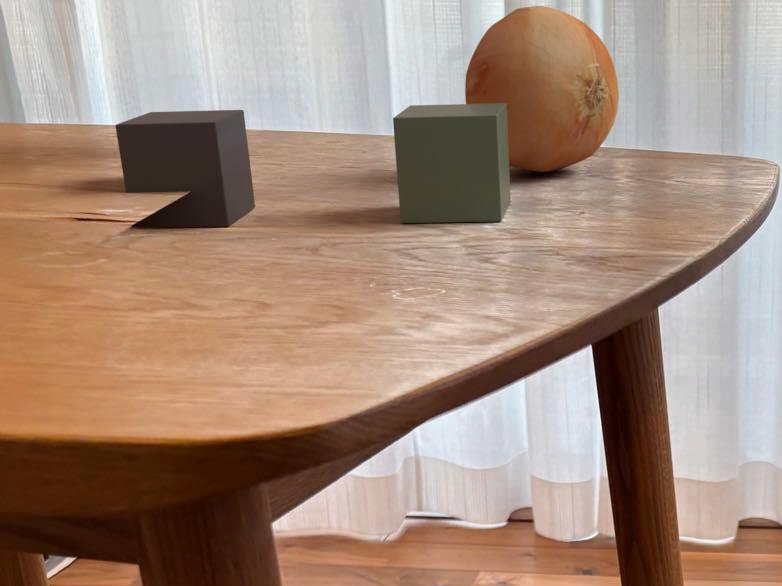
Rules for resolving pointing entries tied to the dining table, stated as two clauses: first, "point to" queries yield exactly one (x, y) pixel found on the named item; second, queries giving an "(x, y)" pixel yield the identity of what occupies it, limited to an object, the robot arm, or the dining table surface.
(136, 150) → the charcoal block
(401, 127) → the green block
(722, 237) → the dining table surface
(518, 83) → the onion
